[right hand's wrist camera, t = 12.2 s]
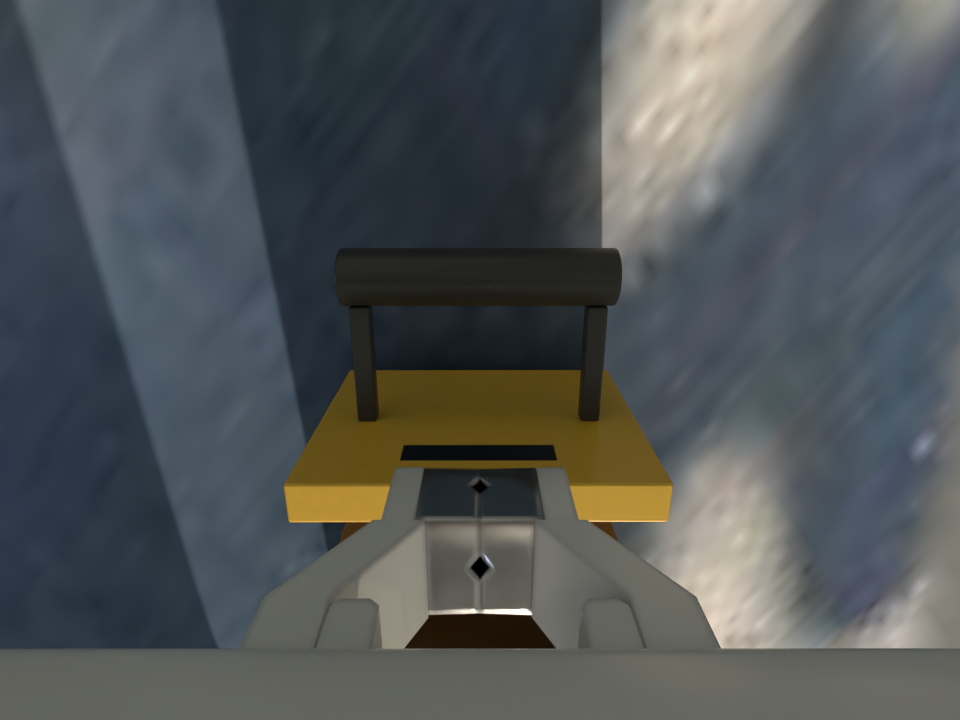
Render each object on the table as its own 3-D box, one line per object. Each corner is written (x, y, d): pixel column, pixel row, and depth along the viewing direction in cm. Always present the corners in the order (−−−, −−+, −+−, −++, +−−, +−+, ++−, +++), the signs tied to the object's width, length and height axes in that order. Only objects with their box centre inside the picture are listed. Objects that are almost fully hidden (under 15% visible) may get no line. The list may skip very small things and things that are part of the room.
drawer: (337, 228, 21) (253, 276, 13) (619, 229, 21) (702, 276, 13) (379, 718, 29) (343, 923, 21) (578, 717, 29) (614, 922, 21)
